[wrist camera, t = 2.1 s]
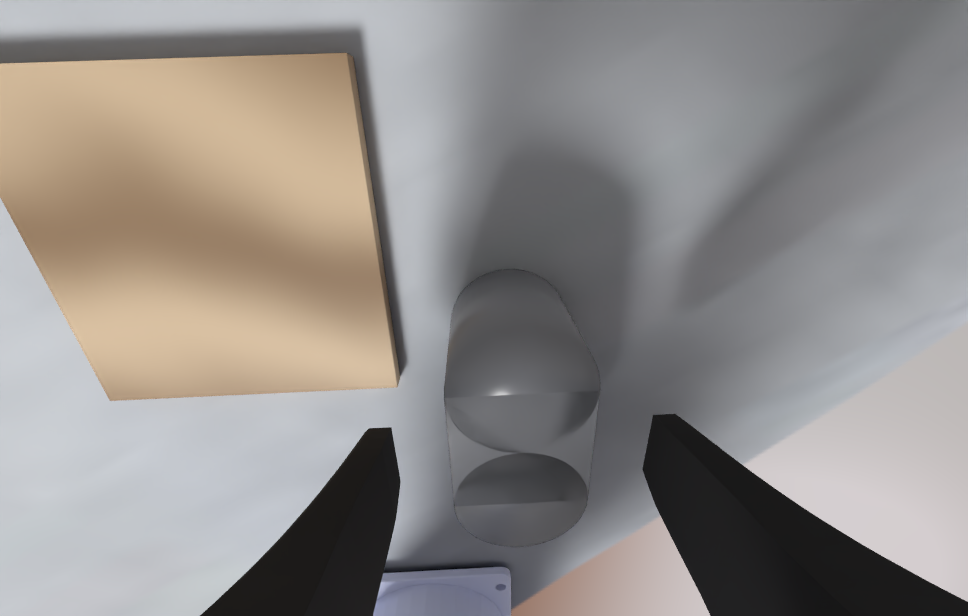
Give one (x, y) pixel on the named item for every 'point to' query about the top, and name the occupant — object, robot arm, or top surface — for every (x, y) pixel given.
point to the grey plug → (518, 410)
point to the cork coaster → (203, 220)
